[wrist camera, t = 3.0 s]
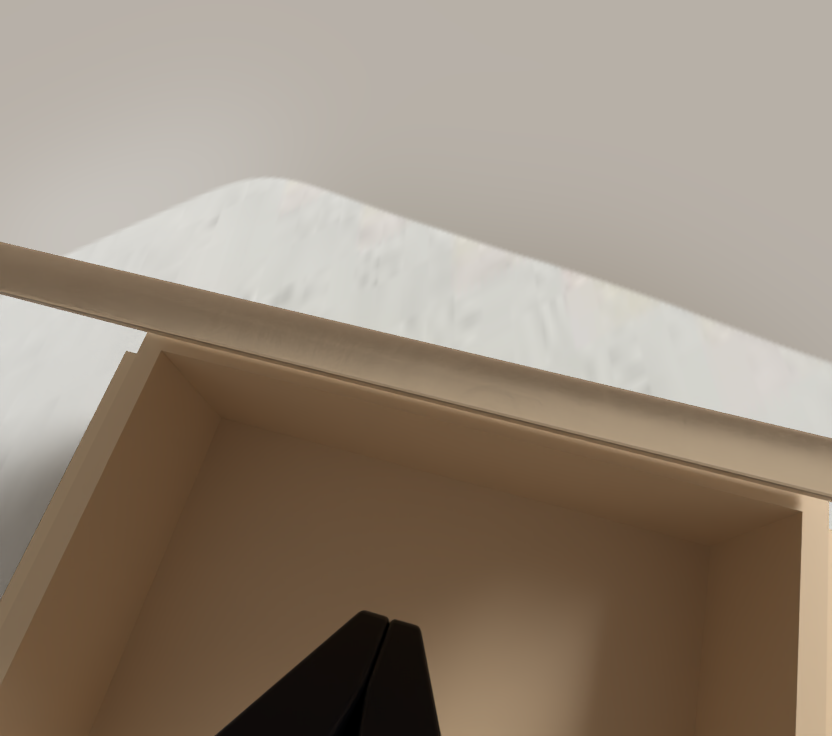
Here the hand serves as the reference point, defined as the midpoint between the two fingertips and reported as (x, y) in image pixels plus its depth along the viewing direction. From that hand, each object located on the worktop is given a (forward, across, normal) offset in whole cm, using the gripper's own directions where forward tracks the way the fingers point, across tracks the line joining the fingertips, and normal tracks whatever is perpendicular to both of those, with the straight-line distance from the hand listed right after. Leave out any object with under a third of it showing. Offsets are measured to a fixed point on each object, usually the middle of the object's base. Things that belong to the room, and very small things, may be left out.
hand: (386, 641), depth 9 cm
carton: (+8, 0, +9) cm, 12 cm away
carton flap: (+3, 0, -2) cm, 4 cm away
